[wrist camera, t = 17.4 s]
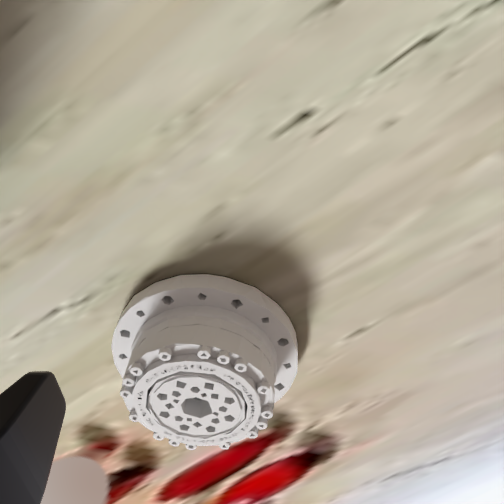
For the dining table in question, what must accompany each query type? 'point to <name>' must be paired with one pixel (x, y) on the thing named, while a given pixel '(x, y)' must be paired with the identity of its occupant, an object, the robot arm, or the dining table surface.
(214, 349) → the mechanical component
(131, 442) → the dining table surface
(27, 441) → the robot arm
